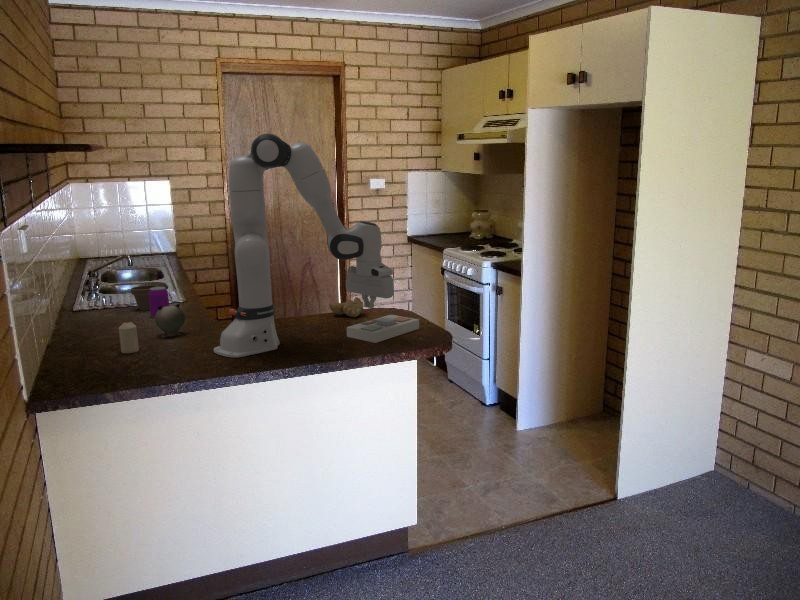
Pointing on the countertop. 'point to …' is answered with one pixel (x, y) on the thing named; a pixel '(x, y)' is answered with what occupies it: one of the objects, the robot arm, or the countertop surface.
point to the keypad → (382, 333)
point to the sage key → (371, 328)
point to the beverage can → (157, 299)
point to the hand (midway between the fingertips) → (369, 307)
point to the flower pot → (142, 296)
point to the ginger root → (348, 307)
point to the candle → (128, 338)
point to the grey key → (386, 322)
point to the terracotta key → (401, 319)
